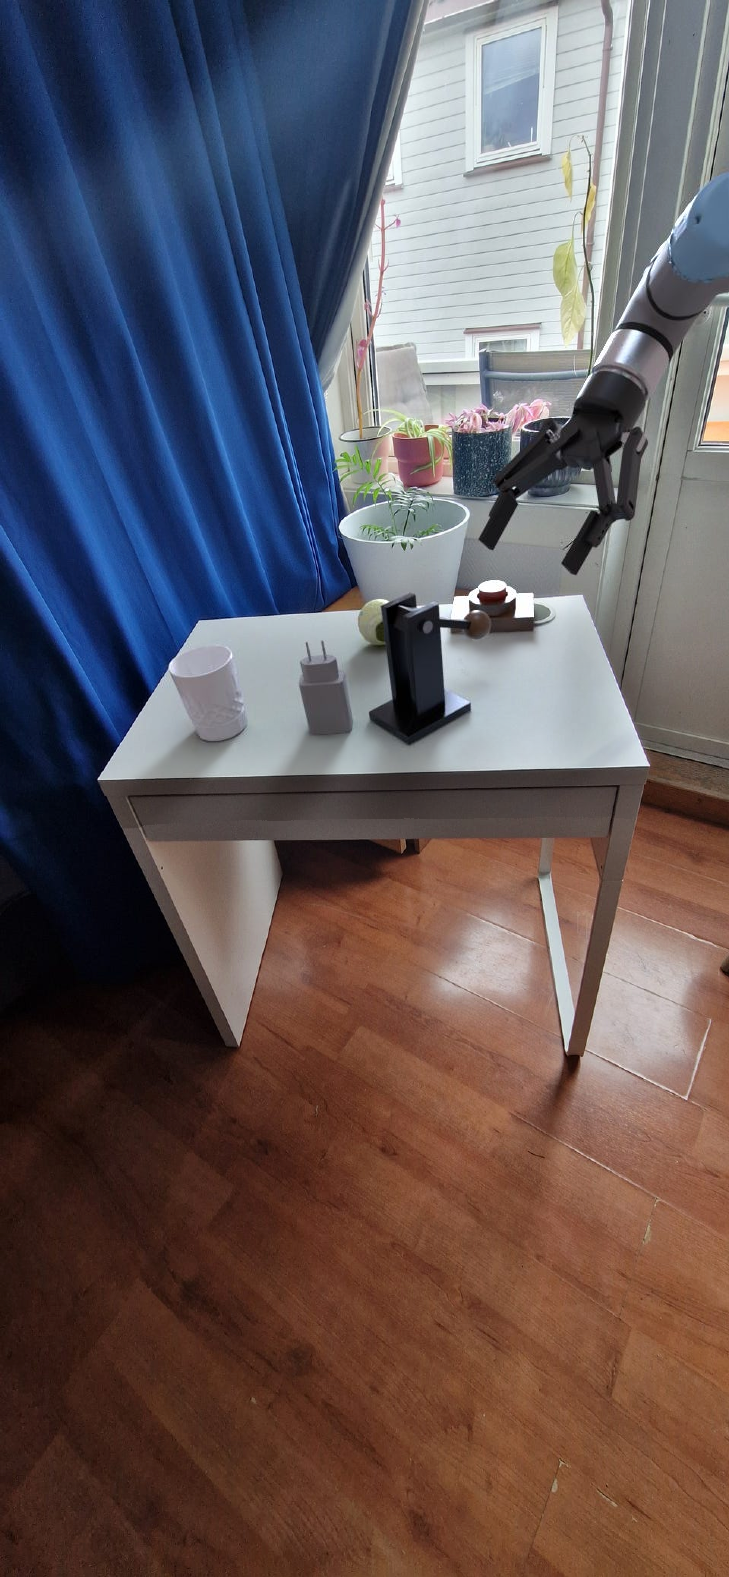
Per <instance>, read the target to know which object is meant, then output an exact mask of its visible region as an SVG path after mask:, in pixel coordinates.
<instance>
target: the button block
mask: <svg viewBox="0 0 729 1577" xmlns="http://www.w3.org/2000/svg"><path fill="white" fill-rule="evenodd" d="M534 597H535V596H534V593H533V592H530V593H529V592H528V593H517V590H515V589H514V588H512V587H511V586H507V585H506V598H505V599H503V600H500V601H497V602H485V601H480V600H479V587H478V588H475V589H474V590H471V591H470V592H469V594H468V596H465V595H463V596H454V598H453V604H452V608H451V614H450V618H457V619H464V617H465V616H466V614H468V613H469V612H471V611H474V610H480V611H483V612H485V613H486V614H487V615H488V616H489V618H490V620H491V629H490V631H489V633H503V632H506V633H507V632H530V631H531V632H533V631H534V629H535V628H534V627H535V626H534V625H535V599H534ZM450 634H464V633H463V631H462V629H453V628H450Z"/></svg>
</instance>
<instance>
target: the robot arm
mask: <svg viewBox="0 0 729 1577" xmlns="http://www.w3.org/2000/svg"><path fill="white" fill-rule="evenodd" d="M727 293H729V171H727V172H724V173H722V174H719V175H717V176H715V177H713V178H712V179H711V180H710V181H708V182H707V183H705V184H704V186H703V187H701V189H700V190H699V191H698V192H697V194H696V195H695V196H694V197H693V199H692V200H691V202H690V203H689V204H688V205H687V207H686V208H685V209H684V210H682V211H681V213H680V216H678V218H677V220H676V221H675V224H674V225H673V227H672V230H671V232H670V234H669V236H668V238H667V239H666V240H665V241H664V242H663V243H662V244H661V246H659V249H658V250H657V252H656V254H655V255H654V256H653V257H652V259H651V260H650V262H649V264H648V266H646V268H645V270H644V272H643V274H642V276H641V280H640V282H639V283H638V285H637V287H636V289H635V291H634V292H633V294H632V296H631V298H630V300H629V301H628V304H627V306H626V307H625V310H624V311H623V314H622V315H621V317H620V319H619V321H618V323H617V325H616V327H615V329H614V330H613V332H612V334H611V335H610V337H609V338H608V340H607V342H606V344H605V346H604V347H603V348H602V349H603V350H602V351H601V353H600V355H599V357H597V360H596V362H595V364H594V365H593V367H592V369H591V374H590V375H588V377H587V378H586V381H585V382H584V384H583V386H582V388H581V389H580V391H579V393H578V395H577V397H576V399H575V400H574V403H573V407H572V408H573V409H572V414H571V416H570V418H569V419H568V421H567V422H566V423H565V424H560V423H556V421H555V420H554V419H553V417H548V418H547V419H546V420H545V421H544V423H543V424H542V426H541V427H540V429H539V430H538V432H537V433H536V434H535V435H534V436H533V437H532V439H530V440H529V442H527V443H526V444H525V446H524V447H523V448H522V449H520V451H518V452H517V454H516V455H515V456H514V457H512V459H511V460H510V461H509V462H508V463H507V464H506V465H505V466H504V467H503V468H502V469H501V470H500V471H498V473H497V474H496V475H495V476H494V477H493V479H492V485H493V486H495V488H496V489H497V490H498V491H499V493H498V496H497V497H496V499H495V500H494V503H493V505H492V507H491V508H490V510H489V513H488V517H489V519H488V521H487V522H486V524H485V526H484V528H483V530H482V531H481V533H480V535H479V537H478V541H479V542H480V543H481V544H482V545H484V546H485V548H487V549H488V550H490V551H494V550H495V548H496V547H497V544H498V543H499V541H500V539H501V537H502V535H503V533H504V532H505V529H506V528H507V526H508V524H509V522H510V521H511V519H512V517H513V515H514V513H515V512H516V510H517V508H518V506H519V502H518V501H517V499H518V498H519V497H521V496H523V495H524V494H525V493H527V492H528V491H529V490H531V489H532V488H534V487H535V486H537V485H538V484H540V483H541V482H542V481H543V480H545V479H547V478H548V477H550V475H552V474H553V473H555V472H556V471H563V470H564V469H566V468H567V467H569V468H572V469H577V468H580V469H581V468H582V469H583V470H584V471H585V470H586V471H591V470H592V469H593V476H594V483H595V490H596V496H597V497H596V498H597V504H598V505H597V506H596V508H597V510H598V511H599V512H598V511H596V510H592V509H591V510H590V511H589V513H588V515H587V517H586V519H585V521H584V522H583V524H582V525H581V527H580V529H579V531H578V533H577V535H576V536H575V538H574V540H573V542H572V543H571V544H570V546H569V548H568V551H567V552H566V553H565V555H564V557H563V559H562V560H561V563H560V564H561V565H562V566H563V568H565V569H566V570H567V571H568V572H569V574H570V575H574V576H578V573H579V572H580V570H581V568H582V566H583V565H584V563H585V562H586V559H587V558H588V556H589V554H590V553H591V551H592V549H593V548H595V549H597V548H598V547H599V546H601V543H602V541H603V539H605V537H606V535H607V533H608V531H609V530H610V528H611V526H612V524H613V523H616V522H617V521H620V520H624V521H626V522H628V521H631V520H633V519H634V517H635V515H636V508H637V498H638V490H639V480H640V473H641V465H642V459H643V456H644V454H645V452H646V449H647V448H648V445H649V439H648V438H647V437H646V435H645V433H644V431H643V430H642V428H641V427H640V426H635V425H636V423H637V422H638V421H639V418H640V416H641V415H642V413H643V411H644V409H645V408H646V404H647V403H646V402H647V401H649V399H650V398H651V396H652V395H653V393H654V391H655V389H656V388H657V386H658V384H659V382H660V380H661V379H662V377H663V375H664V373H665V372H666V370H667V368H668V367H669V365H670V363H671V361H672V359H673V357H674V355H675V354H676V352H677V351H678V349H679V347H680V346H681V344H682V342H683V341H684V338H685V337H686V336H687V334H688V332H689V330H690V329H691V327H692V325H693V324H694V323H695V321H696V320H697V319H698V318H699V317H700V315H701V314H702V313H703V312H704V311H705V310H706V309H707V307H708V306H709V305H710V304H711V303H712V302H713V300H714V299H715V298H716V297H717V296H719V295H722V294H727ZM621 449H622V452H621V460H620V467H619V476H618V483H617V484H618V485H617V493H615V488H614V481H613V476H612V473H613V467H612V460H611V456H613V455H614V454H615V453H616V452H619V450H621ZM559 452H560V455H559V454H558V453H559ZM560 456H561V457H560Z"/></svg>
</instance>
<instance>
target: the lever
mask: <svg viewBox="0 0 729 1577" xmlns="http://www.w3.org/2000/svg"><path fill="white" fill-rule="evenodd" d="M419 608H420V607H417V608H416V607H406V606H398V609H397V613H396V618H395V622H394V627H395V628H398V629H400V630H402V631H404V622H403V616H404V615H406V614H408V613H410V612H412V611H414V610H416V609H419ZM441 628H442V629H451V628H453V629H462V631H463V633H462V634H463V635H464V636H465V637H466V638H468V639H469V640H471V641H479V640H483V639H485V638H486V637H487V636H488V635H489V633H490V632H489V631H490V629H491V620H490V618H489V616H488V615H487V614H486V613H485V612H483V611H480V610H474V611H471V612H469V613H468V614H466V616H465V617H464V619H457V618H451V617H444V616H440V629H441ZM404 632H405V631H404Z"/></svg>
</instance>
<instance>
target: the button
mask: <svg viewBox="0 0 729 1577" xmlns="http://www.w3.org/2000/svg"><path fill="white" fill-rule="evenodd" d="M506 586H507V584H506V583H505V582H504V581H501V580H488V581H484V582H481V583H480V584H479V585H478V588H479V600H480V601H485V602H497V601H500V600H503V599H505V598H506Z"/></svg>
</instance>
